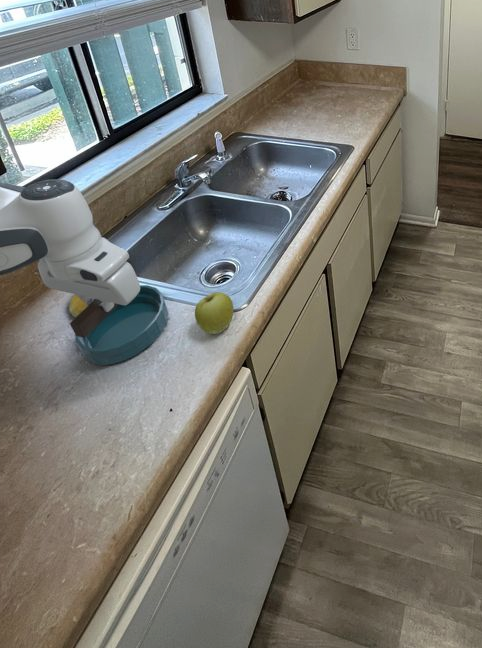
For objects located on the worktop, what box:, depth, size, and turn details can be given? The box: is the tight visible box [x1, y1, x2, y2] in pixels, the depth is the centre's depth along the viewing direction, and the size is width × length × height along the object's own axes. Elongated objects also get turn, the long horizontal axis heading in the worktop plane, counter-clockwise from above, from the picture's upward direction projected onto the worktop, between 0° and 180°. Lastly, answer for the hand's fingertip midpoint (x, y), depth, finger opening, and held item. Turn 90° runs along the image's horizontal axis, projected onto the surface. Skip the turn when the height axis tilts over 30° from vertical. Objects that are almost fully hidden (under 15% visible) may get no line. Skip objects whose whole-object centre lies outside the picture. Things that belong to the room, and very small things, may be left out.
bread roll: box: [68, 294, 87, 319], centre depth 107 cm, size 8×9×4 cm
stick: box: [69, 299, 118, 338], centre depth 89 cm, size 11×2×4 cm, turn 166°
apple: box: [194, 291, 234, 335], centre depth 100 cm, size 8×8×10 cm
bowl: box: [74, 284, 169, 366], centre depth 100 cm, size 17×17×5 cm
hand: (101, 306), depth 89 cm, fingers closed on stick, 2 cm apart
